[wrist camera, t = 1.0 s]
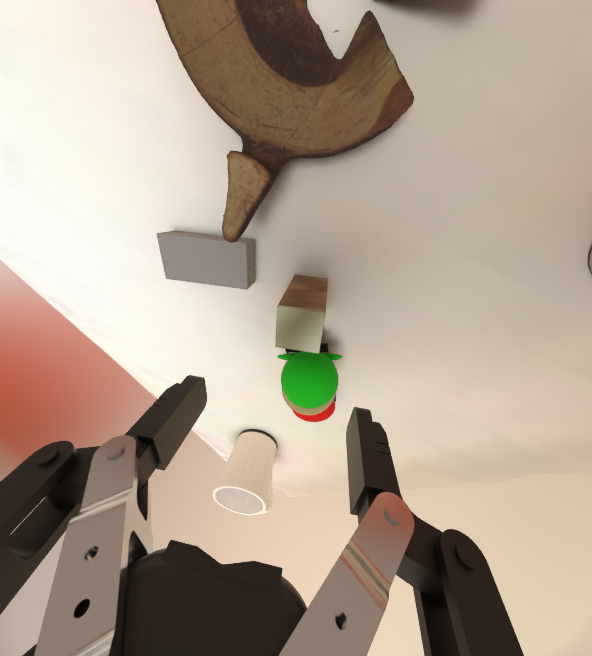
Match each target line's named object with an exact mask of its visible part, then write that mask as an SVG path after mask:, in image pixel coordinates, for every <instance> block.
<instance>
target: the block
mask: <svg viewBox="0 0 592 656" xmlns="http://www.w3.org/2000/svg"><path fill="white" fill-rule="evenodd" d="M327 280H328V279H325V278H317V277H309V276H301V275H294V277H293V279H292V281H291V283H290V285H289V286H288V288H287V290H286V292H285V294H284V295H283V297H282V299H281V301H280V303H279V304H278V306H277V322H276V344H275V347H279V348H286V349H293V350H299V351H306V352H312V353H319V350H320V344H321V338H322V332H323V326H324V320H325V314H326V297H327Z"/></svg>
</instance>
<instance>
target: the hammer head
mask: <svg viewBox="0 0 592 656" xmlns="http://www.w3.org/2000/svg"><path fill="white" fill-rule="evenodd" d="M157 238H158V243H159V248H160V252H161V257H162V262H163V266H164V271H165V276H166V279H172V280H180V281H187V282H195V283H203V284H210V285H218V286H226V287H233V288H241V289H248V288H249V287H250V286H251V285H252V284H253V283H254V282H255V240H251V239H242V238H239V239H238V240H237V241H236V242H232V243H231V242H228V241H226V240H225V239H224V236H215V235H206V234H197V233H188V232H179V231H170V232H163V233H157Z"/></svg>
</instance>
